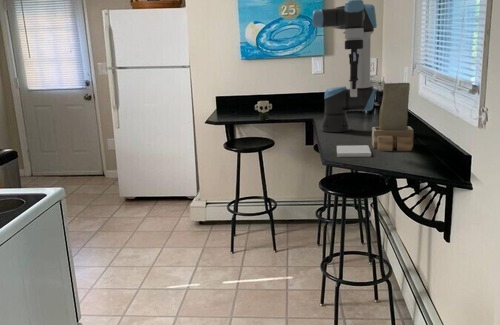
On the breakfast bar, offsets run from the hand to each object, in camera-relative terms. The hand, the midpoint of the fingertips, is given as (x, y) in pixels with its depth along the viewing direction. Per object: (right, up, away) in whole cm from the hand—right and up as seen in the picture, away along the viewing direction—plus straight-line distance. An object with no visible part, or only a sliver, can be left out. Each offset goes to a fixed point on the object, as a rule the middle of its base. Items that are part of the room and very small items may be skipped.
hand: (353, 96), depth 202 cm
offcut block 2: (+24, -22, +7) cm, 33 cm away
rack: (+21, -20, +16) cm, 33 cm away
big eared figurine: (-35, -2, +105) cm, 110 cm away
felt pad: (+1, -24, +6) cm, 25 cm away
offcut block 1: (+16, -23, +9) cm, 29 cm away
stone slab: (+21, -20, +16) cm, 33 cm away
